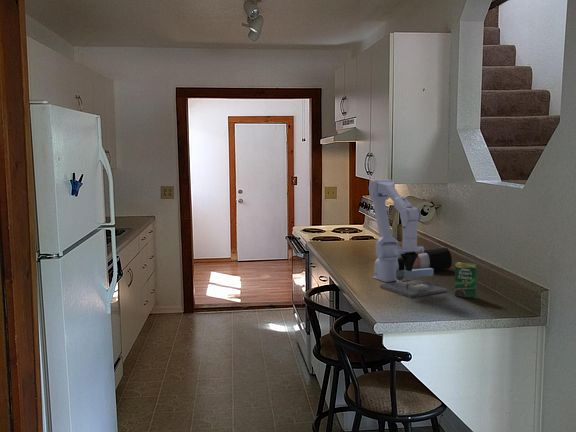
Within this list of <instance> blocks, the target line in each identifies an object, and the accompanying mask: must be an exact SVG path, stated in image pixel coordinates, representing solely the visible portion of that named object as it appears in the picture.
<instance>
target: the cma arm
mask: <svg viewBox="0 0 576 432" xmlns="http://www.w3.org/2000/svg"><path fill="white" fill-rule="evenodd" d="M434 272H435V270H434V269H432V268H424V269H412V271H407V270H397V271H396V278H397V279H409V278H411V279H413V278H420V277H421V278H423V277H431V276H434Z"/></svg>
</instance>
